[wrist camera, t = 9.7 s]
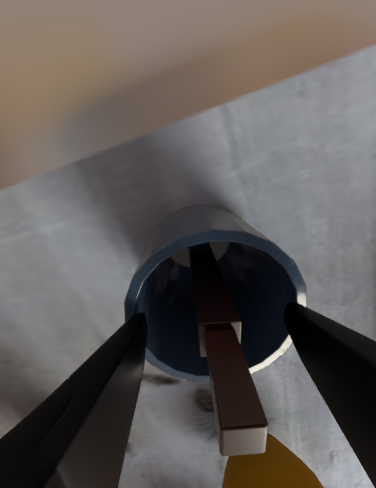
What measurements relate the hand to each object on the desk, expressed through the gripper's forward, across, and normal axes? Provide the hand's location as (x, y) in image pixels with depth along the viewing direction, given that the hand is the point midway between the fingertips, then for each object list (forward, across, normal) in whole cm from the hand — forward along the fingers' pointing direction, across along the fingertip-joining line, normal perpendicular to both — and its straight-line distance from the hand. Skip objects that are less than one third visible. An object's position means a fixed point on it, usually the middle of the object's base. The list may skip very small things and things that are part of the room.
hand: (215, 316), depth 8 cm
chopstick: (+6, 0, 0) cm, 6 cm away
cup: (+6, 0, 0) cm, 6 cm away
